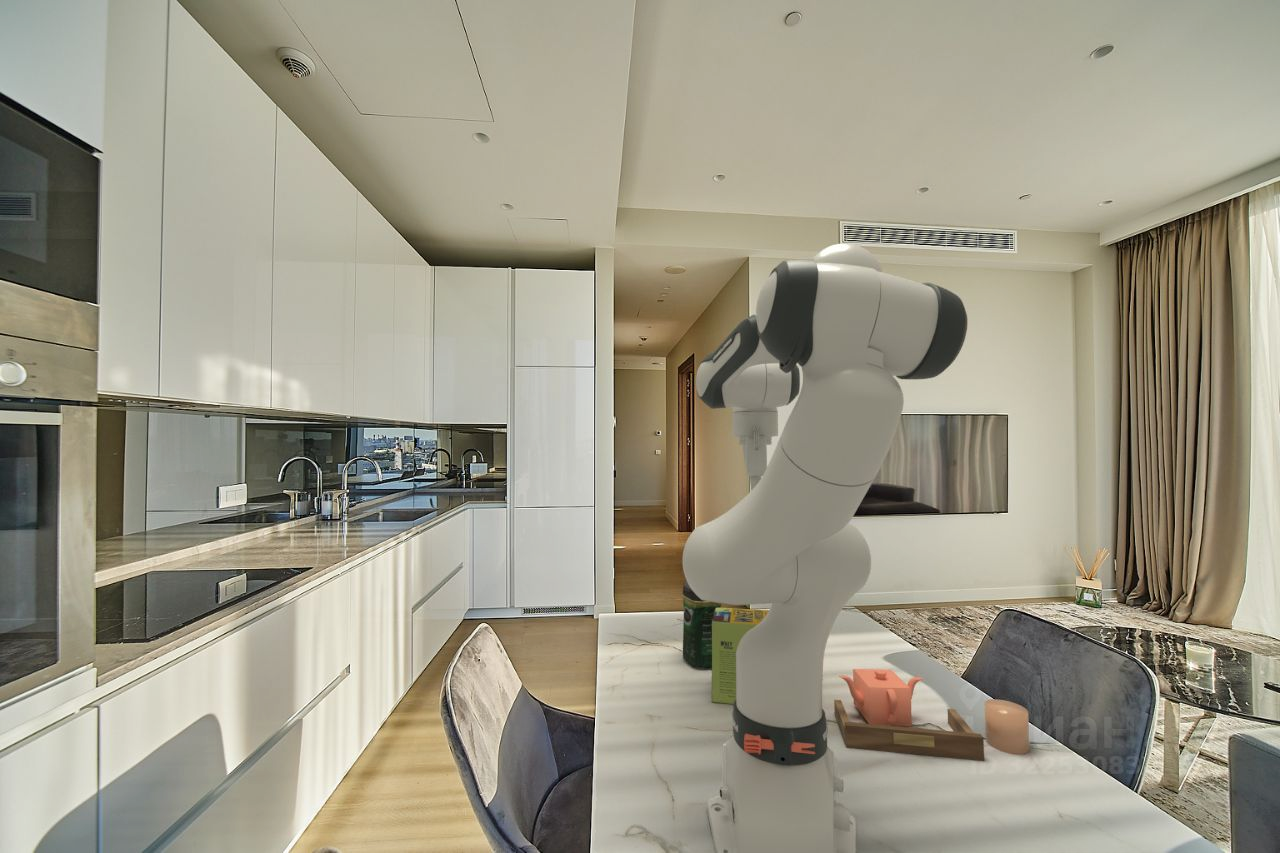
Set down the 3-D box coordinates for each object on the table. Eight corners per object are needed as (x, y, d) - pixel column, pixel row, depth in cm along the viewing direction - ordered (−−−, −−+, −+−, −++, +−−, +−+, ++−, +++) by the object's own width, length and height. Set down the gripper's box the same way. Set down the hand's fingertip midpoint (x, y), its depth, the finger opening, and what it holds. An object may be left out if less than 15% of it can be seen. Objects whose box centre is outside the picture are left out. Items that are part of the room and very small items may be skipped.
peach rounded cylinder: (1037, 756, 86) (1035, 717, 86) (995, 752, 87) (994, 714, 87) (1018, 737, 92) (1017, 700, 92) (979, 733, 93) (978, 697, 93)
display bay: (984, 761, 84) (984, 738, 85) (846, 747, 88) (846, 725, 88) (955, 723, 96) (954, 703, 96) (834, 713, 100) (834, 694, 100)
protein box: (794, 710, 101) (793, 626, 102) (711, 703, 104) (710, 620, 105) (790, 687, 111) (789, 610, 112) (714, 680, 115) (714, 606, 115)
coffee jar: (727, 668, 121) (726, 583, 122) (694, 672, 119) (694, 586, 120) (708, 653, 130) (708, 574, 131) (678, 656, 128) (678, 577, 129)
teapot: (829, 702, 105) (829, 658, 105) (909, 704, 104) (908, 659, 104) (850, 733, 93) (849, 683, 93) (940, 736, 92) (939, 685, 93)
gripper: (774, 424, 97) (775, 502, 96) (769, 429, 117) (769, 494, 116) (738, 425, 98) (739, 502, 97) (739, 429, 118) (739, 493, 117)
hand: (755, 497), depth 107 cm, fingers closed
